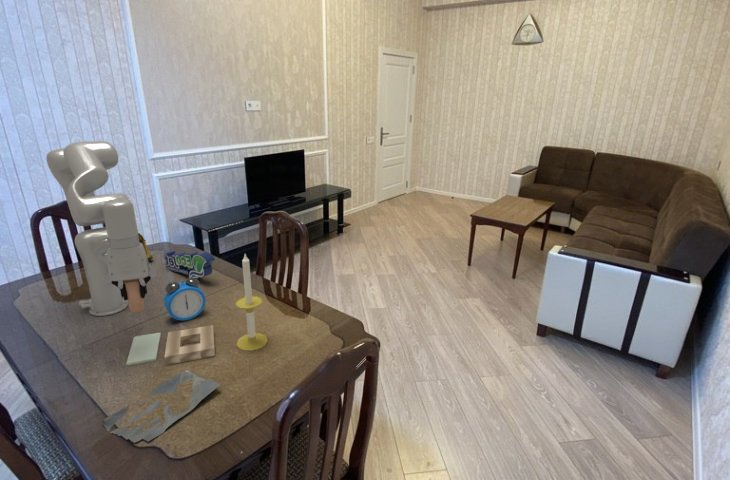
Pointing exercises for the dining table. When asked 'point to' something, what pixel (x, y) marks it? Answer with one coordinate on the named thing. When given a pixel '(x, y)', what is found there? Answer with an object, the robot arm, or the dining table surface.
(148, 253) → the shrine
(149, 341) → the mat
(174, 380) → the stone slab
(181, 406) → the dining table surface
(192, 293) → the alarm clock
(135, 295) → the peg
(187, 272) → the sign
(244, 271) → the candle
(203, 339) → the pocket frame
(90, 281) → the robot arm
